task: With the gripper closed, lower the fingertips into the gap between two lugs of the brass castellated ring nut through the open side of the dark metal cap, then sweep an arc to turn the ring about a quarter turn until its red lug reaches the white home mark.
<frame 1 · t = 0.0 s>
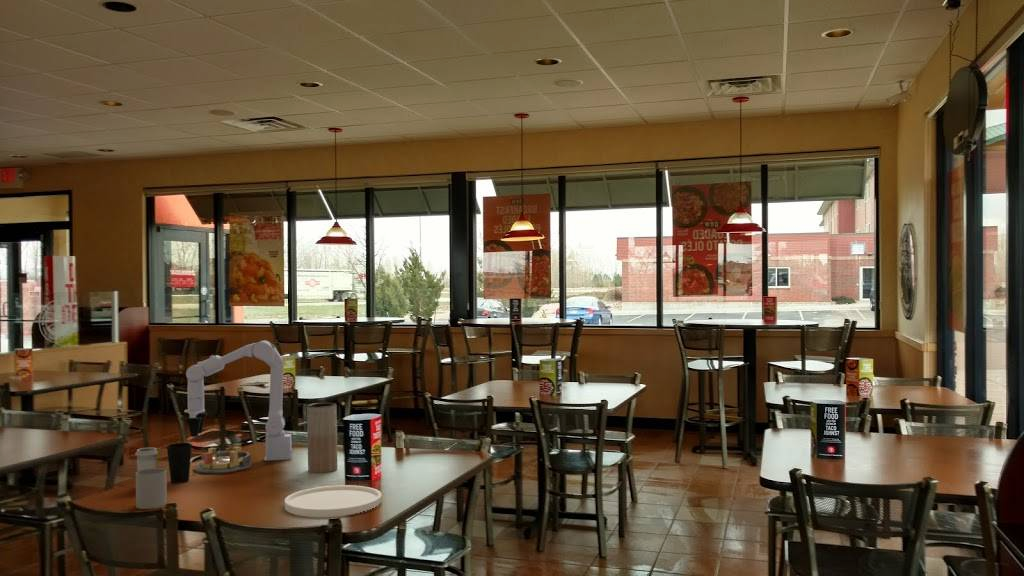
hand: (196, 434, 307), 10 cm above the table, fingers open, 7 cm apart
ring nut: (222, 457, 297), point 4 cm above the table, hinge at 0.0°
plate: (333, 505, 247), on the table
cup 3: (147, 487, 271), on the table
planter: (322, 470, 292), on the table
cup: (179, 481, 278), on the table
cup 2: (151, 505, 248), on the table
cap: (223, 467, 297), on the table
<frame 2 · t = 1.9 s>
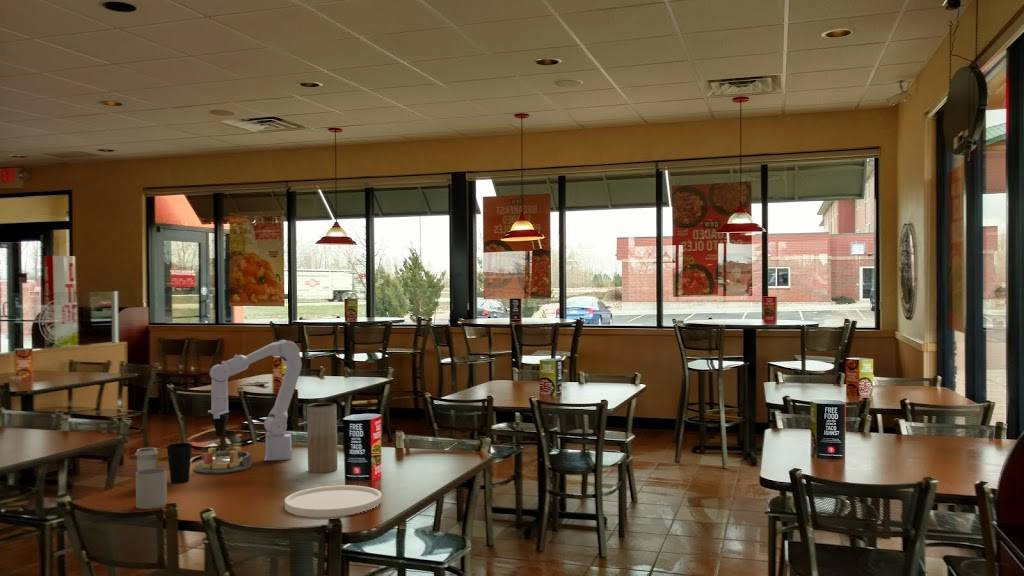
hand: (220, 435, 302), 11 cm above the table, fingers closed
nothing on the table moved.
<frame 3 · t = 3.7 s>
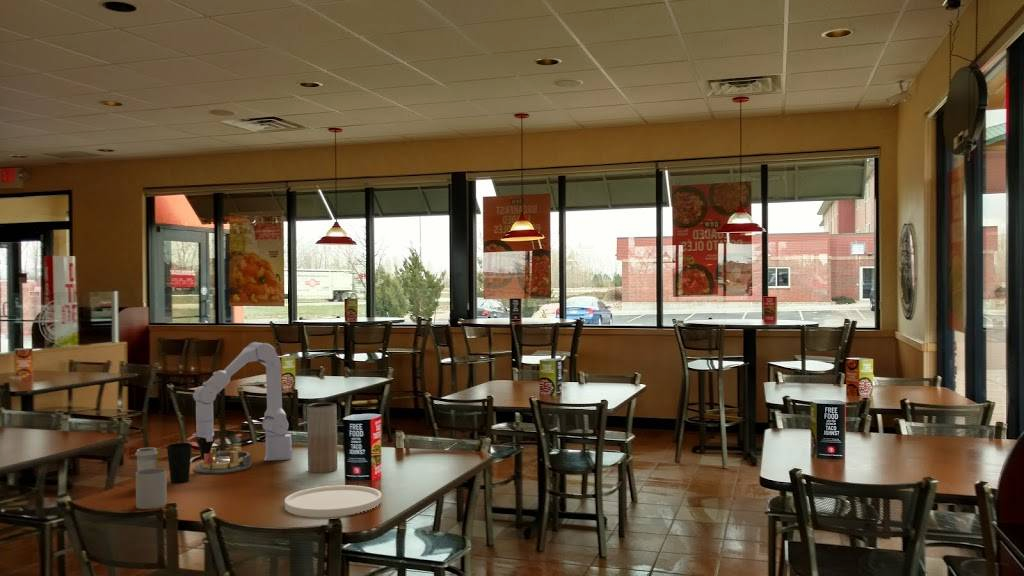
hand: (205, 459, 294), 4 cm above the table, fingers closed
ring nut: (222, 457, 297), point 4 cm above the table, hinge at 0.6°, touching gripper
everything else where it was.
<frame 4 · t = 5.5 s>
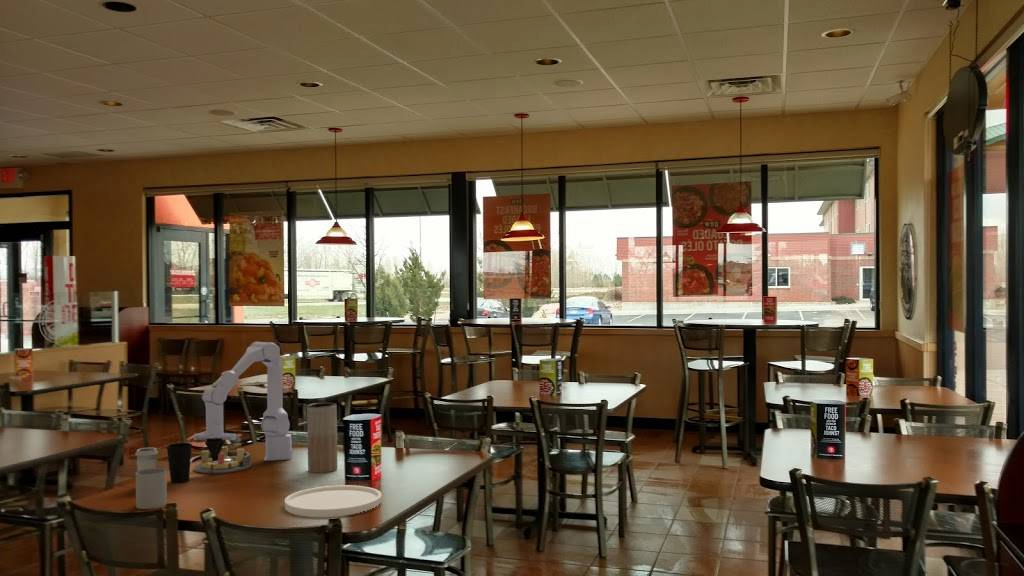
hand: (215, 460, 291), 4 cm above the table, fingers closed
ring nut: (222, 457, 297), point 4 cm above the table, hinge at 47.8°, touching gripper
everything else where it was.
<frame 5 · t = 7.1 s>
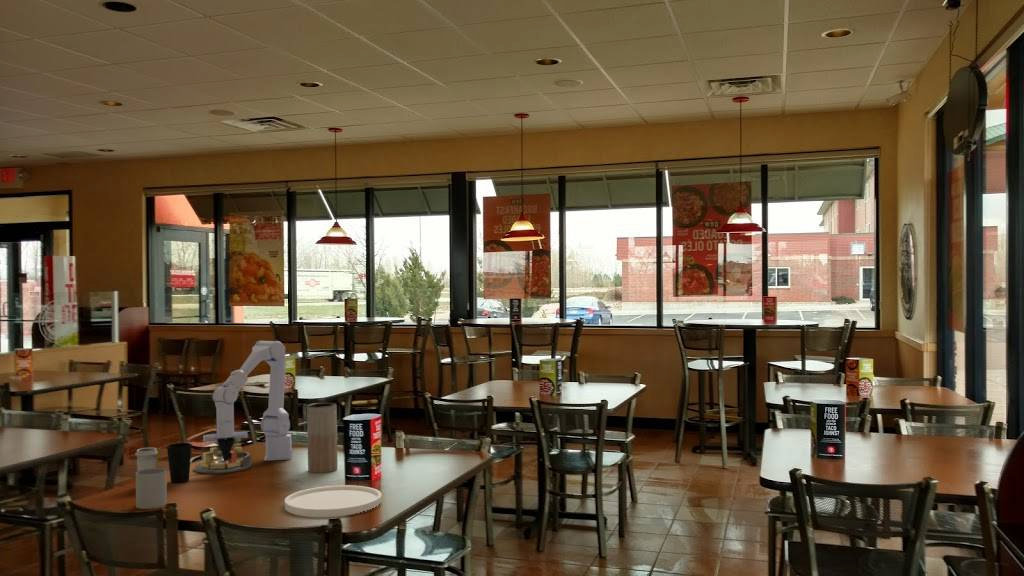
hand: (225, 460, 292), 4 cm above the table, fingers closed
ring nut: (222, 457, 297), point 4 cm above the table, hinge at 84.0°, touching gripper
everything else where it was.
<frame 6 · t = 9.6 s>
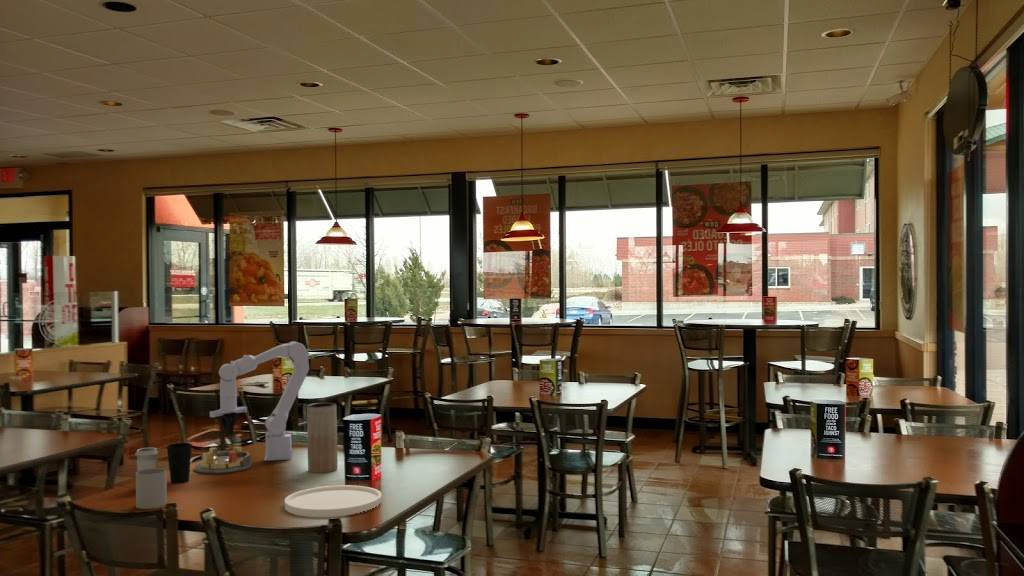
hand: (229, 434, 305), 10 cm above the table, fingers closed
ring nut: (222, 457, 297), point 4 cm above the table, hinge at 86.0°
everything else where it was.
at the end: ring nut at +86° (first picture: +0°) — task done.
